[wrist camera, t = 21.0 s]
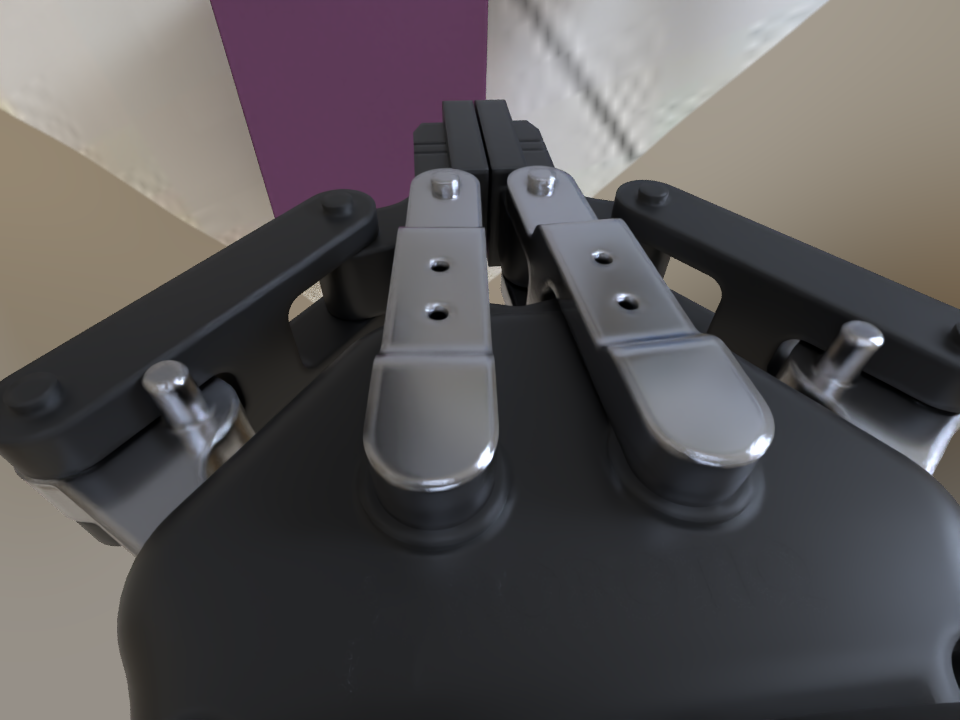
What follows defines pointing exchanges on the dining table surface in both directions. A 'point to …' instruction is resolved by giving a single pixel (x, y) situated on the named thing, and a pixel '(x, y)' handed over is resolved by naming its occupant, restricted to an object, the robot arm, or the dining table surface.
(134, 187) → the dining table surface
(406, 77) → the lid
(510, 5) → the dining table surface
